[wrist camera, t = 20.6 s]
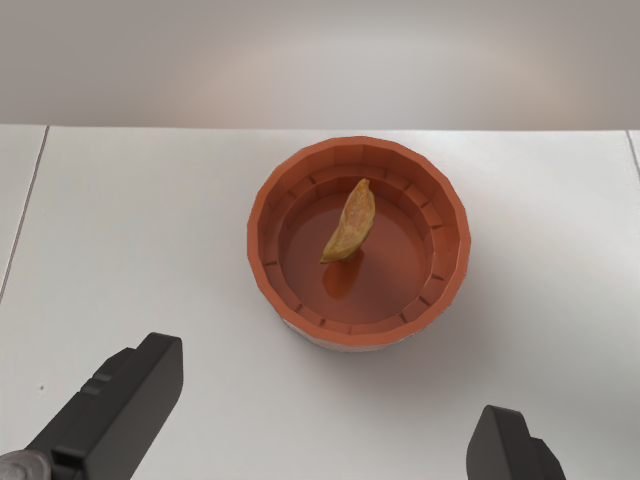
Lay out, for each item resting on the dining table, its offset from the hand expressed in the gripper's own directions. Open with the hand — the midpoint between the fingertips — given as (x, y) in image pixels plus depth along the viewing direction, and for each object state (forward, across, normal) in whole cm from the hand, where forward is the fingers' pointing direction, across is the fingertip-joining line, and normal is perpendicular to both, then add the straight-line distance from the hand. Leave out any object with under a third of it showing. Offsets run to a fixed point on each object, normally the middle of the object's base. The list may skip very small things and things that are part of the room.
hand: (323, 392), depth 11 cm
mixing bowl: (+25, 0, +9) cm, 27 cm away
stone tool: (+24, +1, +9) cm, 26 cm away
